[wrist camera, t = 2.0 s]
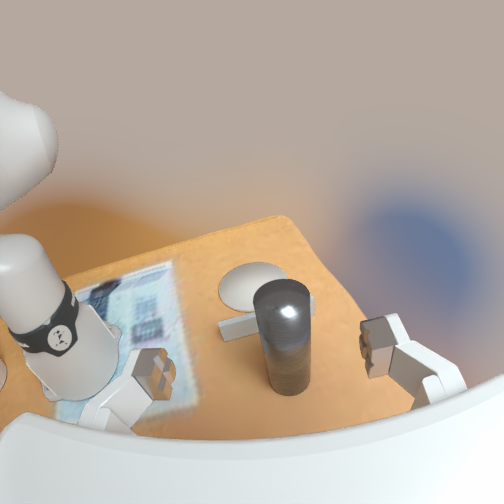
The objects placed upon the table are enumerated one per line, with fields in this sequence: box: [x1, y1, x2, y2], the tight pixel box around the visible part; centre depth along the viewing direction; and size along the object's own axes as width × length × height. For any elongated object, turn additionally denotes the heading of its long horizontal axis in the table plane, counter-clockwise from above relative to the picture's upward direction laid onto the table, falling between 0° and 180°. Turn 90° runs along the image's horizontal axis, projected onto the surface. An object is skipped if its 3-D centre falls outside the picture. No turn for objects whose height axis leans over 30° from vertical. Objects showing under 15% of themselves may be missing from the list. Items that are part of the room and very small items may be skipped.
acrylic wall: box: [218, 295, 314, 342], centre depth 42 cm, size 14×1×4 cm, turn 104°
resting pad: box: [219, 262, 288, 313], centre depth 50 cm, size 12×12×1 cm
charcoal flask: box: [253, 279, 311, 396], centre depth 31 cm, size 5×5×15 cm
